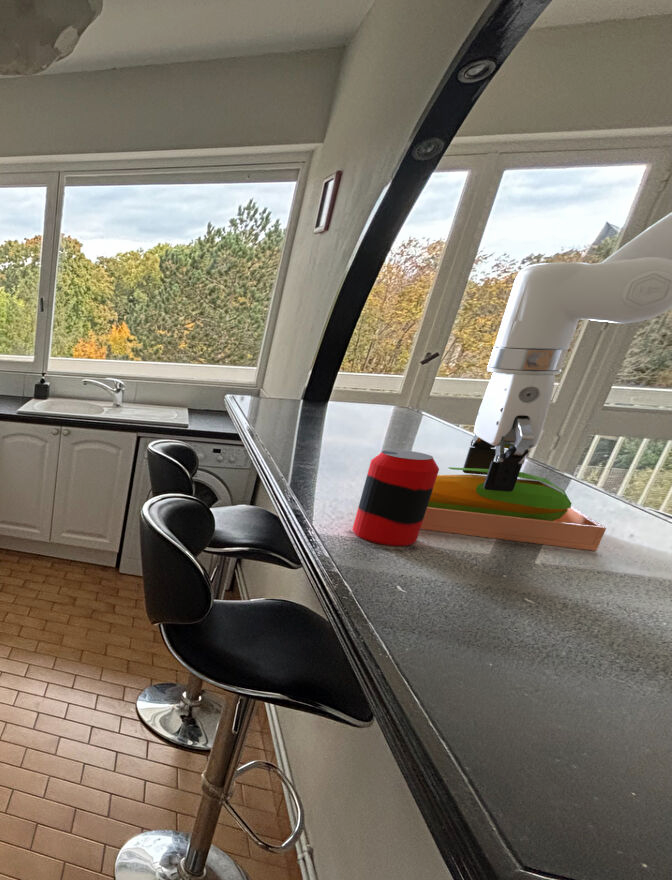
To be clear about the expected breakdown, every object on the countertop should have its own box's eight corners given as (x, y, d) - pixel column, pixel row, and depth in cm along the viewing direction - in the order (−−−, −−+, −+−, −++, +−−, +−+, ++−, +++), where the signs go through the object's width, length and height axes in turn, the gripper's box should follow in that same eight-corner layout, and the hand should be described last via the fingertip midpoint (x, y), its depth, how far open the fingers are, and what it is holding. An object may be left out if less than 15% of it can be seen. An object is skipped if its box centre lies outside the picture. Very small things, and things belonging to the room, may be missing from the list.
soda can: (350, 524, 89) (371, 446, 84) (411, 533, 85) (437, 452, 81) (353, 540, 83) (375, 456, 78) (419, 550, 79) (447, 464, 75)
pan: (552, 519, 91) (561, 499, 89) (596, 551, 79) (606, 528, 78) (367, 499, 100) (372, 480, 99) (382, 524, 89) (388, 503, 88)
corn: (587, 484, 79) (404, 461, 90) (566, 537, 81) (390, 509, 92) (574, 475, 84) (404, 455, 95) (555, 526, 87) (390, 501, 98)
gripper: (592, 368, 72) (543, 500, 78) (535, 357, 87) (497, 470, 93) (514, 366, 75) (472, 494, 81) (471, 356, 90) (438, 465, 96)
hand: (485, 481), depth 87 cm, fingers open, 9 cm apart
